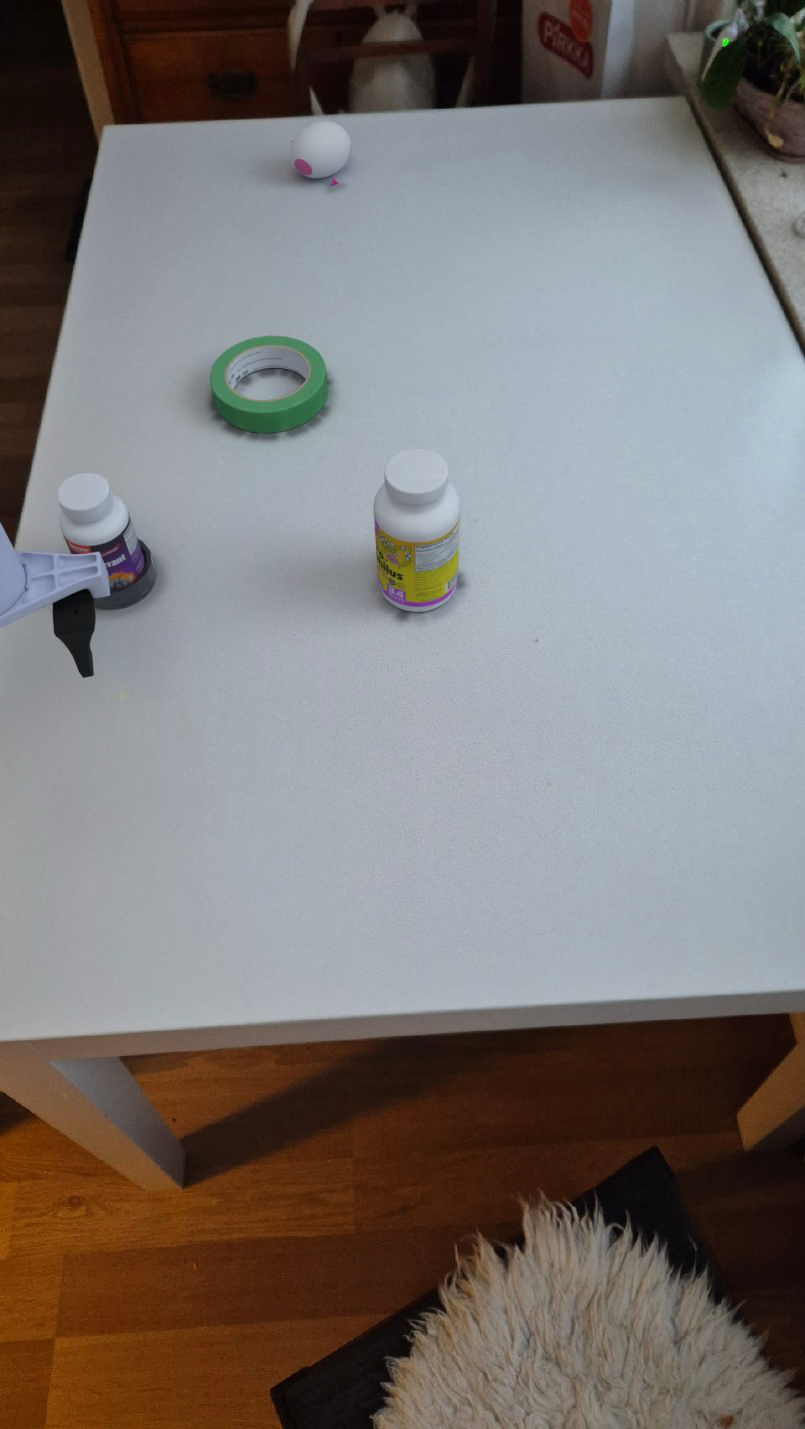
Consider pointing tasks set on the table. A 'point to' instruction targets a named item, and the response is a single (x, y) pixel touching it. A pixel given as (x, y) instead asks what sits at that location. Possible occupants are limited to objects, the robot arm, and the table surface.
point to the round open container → (131, 586)
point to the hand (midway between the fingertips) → (29, 677)
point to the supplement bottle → (417, 531)
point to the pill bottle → (100, 527)
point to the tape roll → (276, 411)
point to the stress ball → (320, 150)
